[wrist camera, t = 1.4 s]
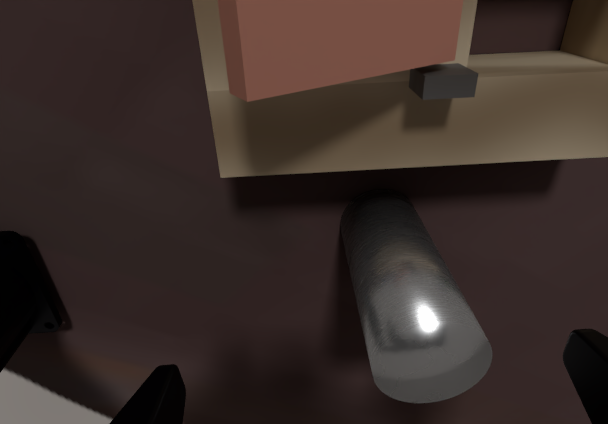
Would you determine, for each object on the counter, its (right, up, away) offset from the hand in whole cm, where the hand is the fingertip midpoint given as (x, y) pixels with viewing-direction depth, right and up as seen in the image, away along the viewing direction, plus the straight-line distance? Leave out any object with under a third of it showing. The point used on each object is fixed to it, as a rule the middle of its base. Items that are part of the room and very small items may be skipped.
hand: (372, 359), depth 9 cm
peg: (+2, +3, +12) cm, 13 cm away
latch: (-1, +9, +1) cm, 9 cm away
